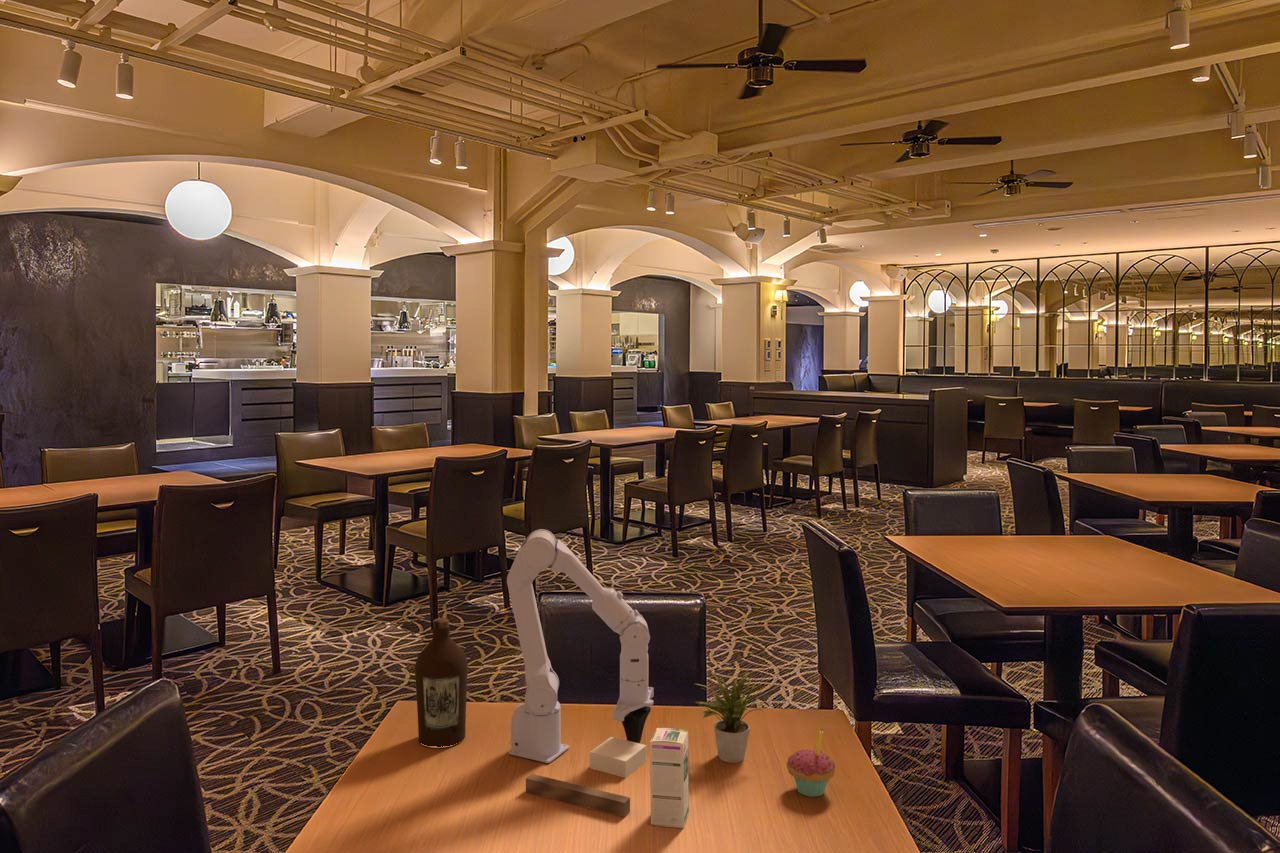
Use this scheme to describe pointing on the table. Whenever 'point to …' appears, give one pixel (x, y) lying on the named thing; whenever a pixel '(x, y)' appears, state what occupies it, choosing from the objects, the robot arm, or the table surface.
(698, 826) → the table surface
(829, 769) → the cupcake
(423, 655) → the olive oil
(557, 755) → the robot arm
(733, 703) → the house plant
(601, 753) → the wooden block
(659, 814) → the syrup box
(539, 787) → the stop rail
